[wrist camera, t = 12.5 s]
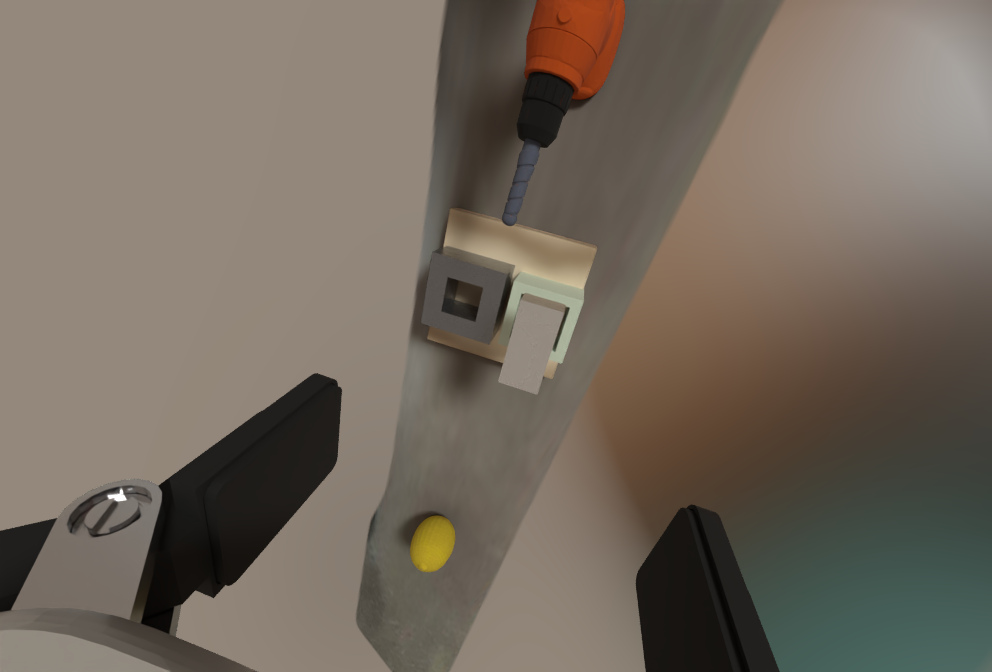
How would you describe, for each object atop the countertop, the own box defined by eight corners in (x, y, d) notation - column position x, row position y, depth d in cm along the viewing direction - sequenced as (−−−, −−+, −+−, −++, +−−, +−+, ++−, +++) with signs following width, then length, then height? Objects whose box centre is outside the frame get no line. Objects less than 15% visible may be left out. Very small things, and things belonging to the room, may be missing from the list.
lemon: (469, 521, 53) (451, 574, 45) (446, 538, 55) (425, 591, 48) (440, 496, 52) (416, 546, 45) (418, 514, 54) (392, 564, 47)
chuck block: (447, 245, 37) (432, 251, 33) (515, 265, 36) (507, 274, 32) (435, 310, 40) (420, 323, 36) (498, 330, 39) (489, 344, 35)
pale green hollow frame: (521, 271, 36) (514, 280, 33) (584, 289, 35) (583, 301, 32) (505, 328, 39) (497, 343, 35) (564, 346, 38) (561, 363, 34)
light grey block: (537, 271, 36) (520, 299, 27) (569, 280, 35) (564, 312, 26) (518, 336, 39) (498, 381, 30) (548, 345, 38) (537, 394, 29)
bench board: (456, 207, 37) (450, 208, 35) (596, 245, 36) (597, 248, 34) (434, 332, 43) (427, 338, 41) (553, 370, 41) (552, 378, 40)
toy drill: (502, 222, 35) (458, 210, 21) (574, -13, 30) (579, -244, 16) (552, 238, 35) (540, 237, 21) (634, 2, 29) (695, -221, 15)
